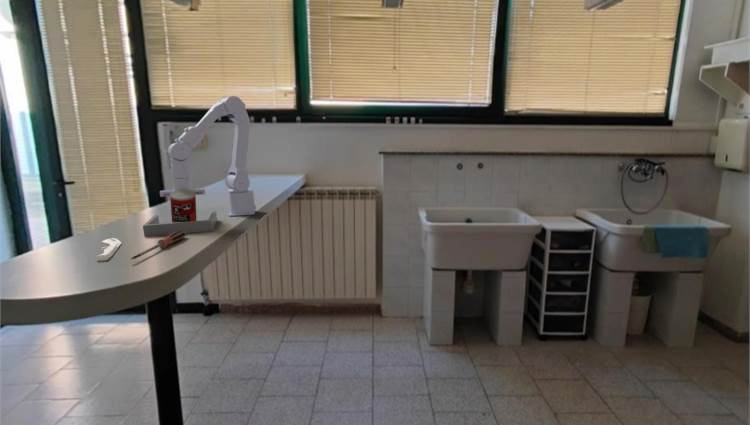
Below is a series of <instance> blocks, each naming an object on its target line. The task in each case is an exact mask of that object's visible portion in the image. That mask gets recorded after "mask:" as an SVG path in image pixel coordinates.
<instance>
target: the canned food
mask: <svg viewBox="0 0 750 425" xmlns="http://www.w3.org/2000/svg"><path fill="white" fill-rule="evenodd" d="M196 197H197V196H196V195H195V192H194V191H191V190H177V191H174V192H172V193H171V194H170V196H169V200H170V212H171V213H170V214H171V223H175V222H188V221H197V201H196V200H197V199H196Z"/></svg>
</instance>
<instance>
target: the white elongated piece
mask: <svg viewBox="0 0 750 425" xmlns="http://www.w3.org/2000/svg"><path fill="white" fill-rule="evenodd" d="M101 242H102V243H103V244H106V245H107V246H103V247H100V248H101V249H100V251H101V254H98V255H96V257H95V259H96V261H97V262H98V261H99V262H101V261H102V262H104V261H105V262H106V261H108V260H109V259H110V258H111V257H112V256H113V255H114V254H115V253H116V252H117V251H118V248H119V247H120V246H122V241H121V240H119V239H118V238H115V237H112V238H111V237H110V238H108V239H107V238H106V239H104V240H102V241H101ZM108 245H109V246H108Z"/></svg>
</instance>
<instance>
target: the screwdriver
mask: <svg viewBox="0 0 750 425" xmlns="http://www.w3.org/2000/svg"><path fill="white" fill-rule="evenodd" d="M186 234H187V233H186V232H185V231H183V230H180V231H177V232H174V233H172V234H168V235H166V237H165V238H162V239H161V238H160V239H159V240H158V242H157V244H156V245H154V246H152V247H149V248H148V249H146V250H144V251H142V252H140V253H137V254H136V255H134V256H133V257H131V258H130V260H135V259H137V258H140V257H142V256H143V255H145V254H146V255H147V253H150V252H152V251H154V250H156V249H159V248H161V249H165V248H166V247H167V246H168V245H172V244H174V243H177V242H179V241H181V240H182V239H183V238H185V237H186Z"/></svg>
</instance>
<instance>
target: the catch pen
mask: <svg viewBox="0 0 750 425" xmlns="http://www.w3.org/2000/svg"><path fill="white" fill-rule="evenodd" d="M159 217H160V216H159V214H156V215H155V214H154V215H153V216H152V217H151V218H150V219H149V220H147V222H145V223H144V224H143V225H142V230H143V235H144V236H143V237H154V236H155V237H156V236H168V235H171V234H172V233H174V232H177V231H180V230H183V231H185V232H186V234H189V233H201V232H213V231H214V228H215V227H216V224H217V222H218V217H217V210H213V211H212V212H211V213H210V215H209V217H208V219H205V220H204V219H203V220H196V221H188V222H175V223H172V222H166V223H165V222H163V223H160V218H159Z"/></svg>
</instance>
